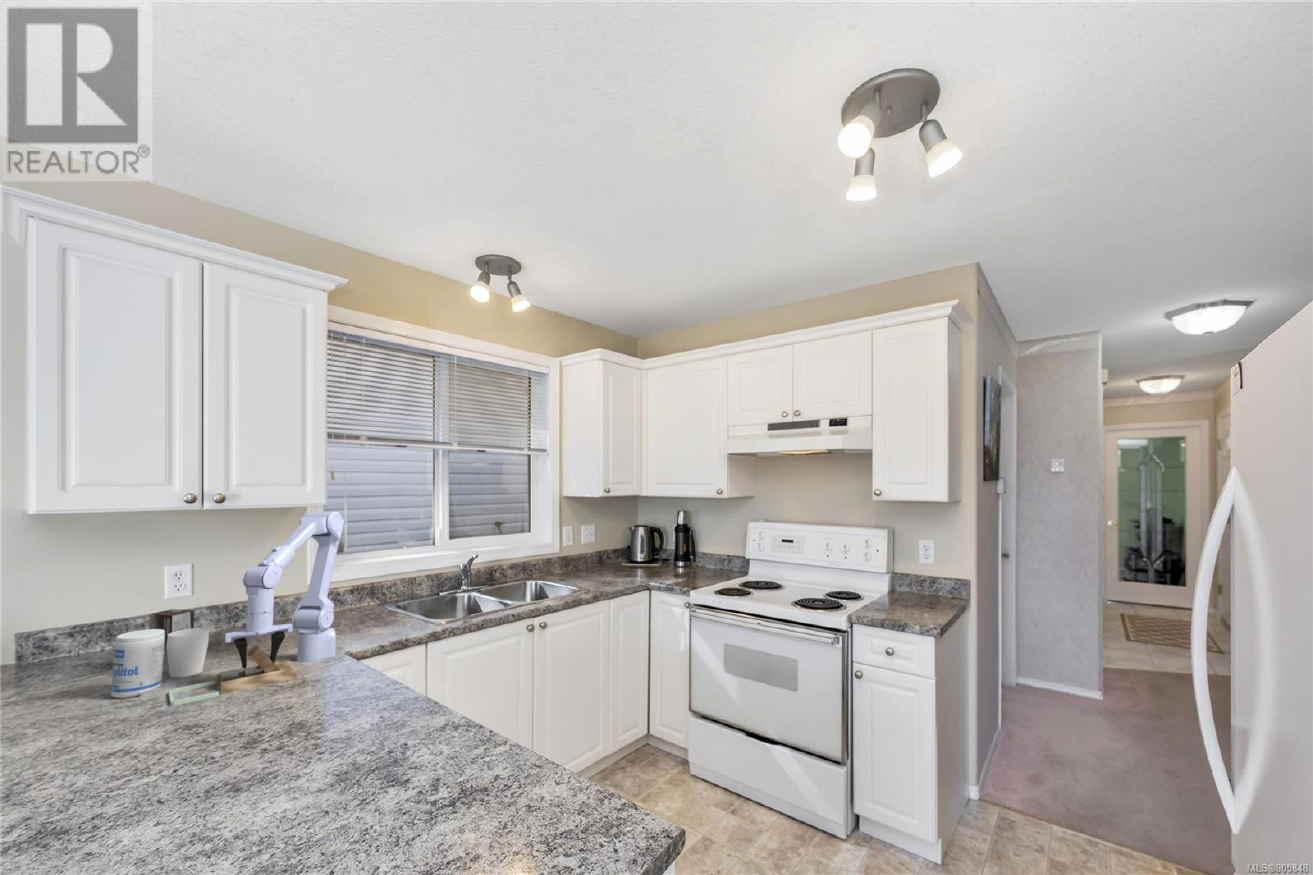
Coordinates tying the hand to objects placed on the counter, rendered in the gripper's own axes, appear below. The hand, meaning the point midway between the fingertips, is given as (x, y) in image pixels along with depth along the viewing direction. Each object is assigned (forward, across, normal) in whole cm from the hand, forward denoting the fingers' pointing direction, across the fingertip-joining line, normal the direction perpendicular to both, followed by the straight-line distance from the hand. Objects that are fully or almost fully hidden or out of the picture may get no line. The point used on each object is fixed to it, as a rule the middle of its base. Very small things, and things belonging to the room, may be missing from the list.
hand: (258, 664), depth 148 cm
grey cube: (+4, -1, 0) cm, 4 cm away
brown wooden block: (+3, +4, 0) cm, 5 cm away
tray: (+5, -13, 0) cm, 14 cm away
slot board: (+5, 0, 0) cm, 5 cm away
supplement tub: (+5, -23, +16) cm, 29 cm away
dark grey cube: (+4, -6, 0) cm, 7 cm away
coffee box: (+5, -16, +34) cm, 38 cm away
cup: (+5, -13, +22) cm, 26 cm away
